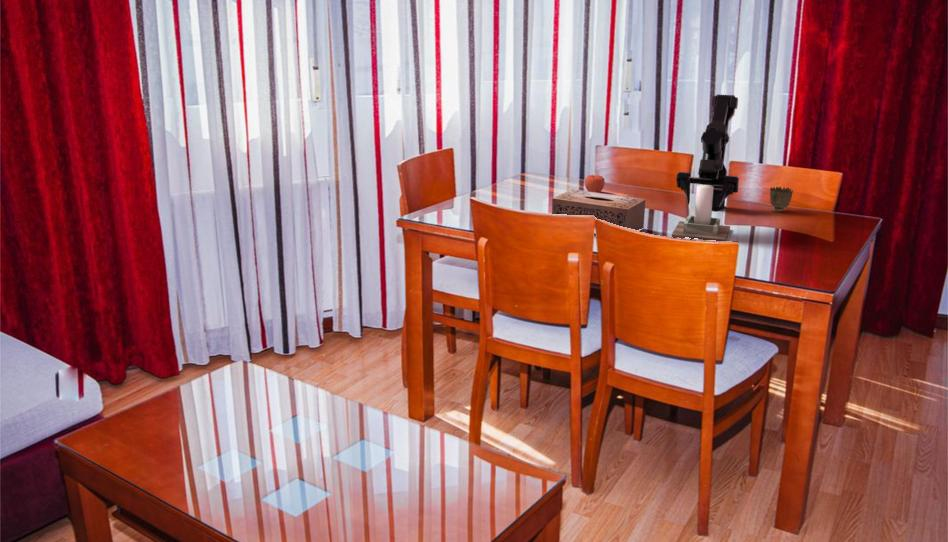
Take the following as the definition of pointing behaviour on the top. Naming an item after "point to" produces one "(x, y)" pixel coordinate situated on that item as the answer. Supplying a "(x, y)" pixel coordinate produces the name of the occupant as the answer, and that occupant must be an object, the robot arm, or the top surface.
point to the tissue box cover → (602, 207)
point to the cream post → (703, 204)
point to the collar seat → (701, 230)
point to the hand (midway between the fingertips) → (703, 205)
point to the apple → (594, 183)
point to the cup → (780, 198)
